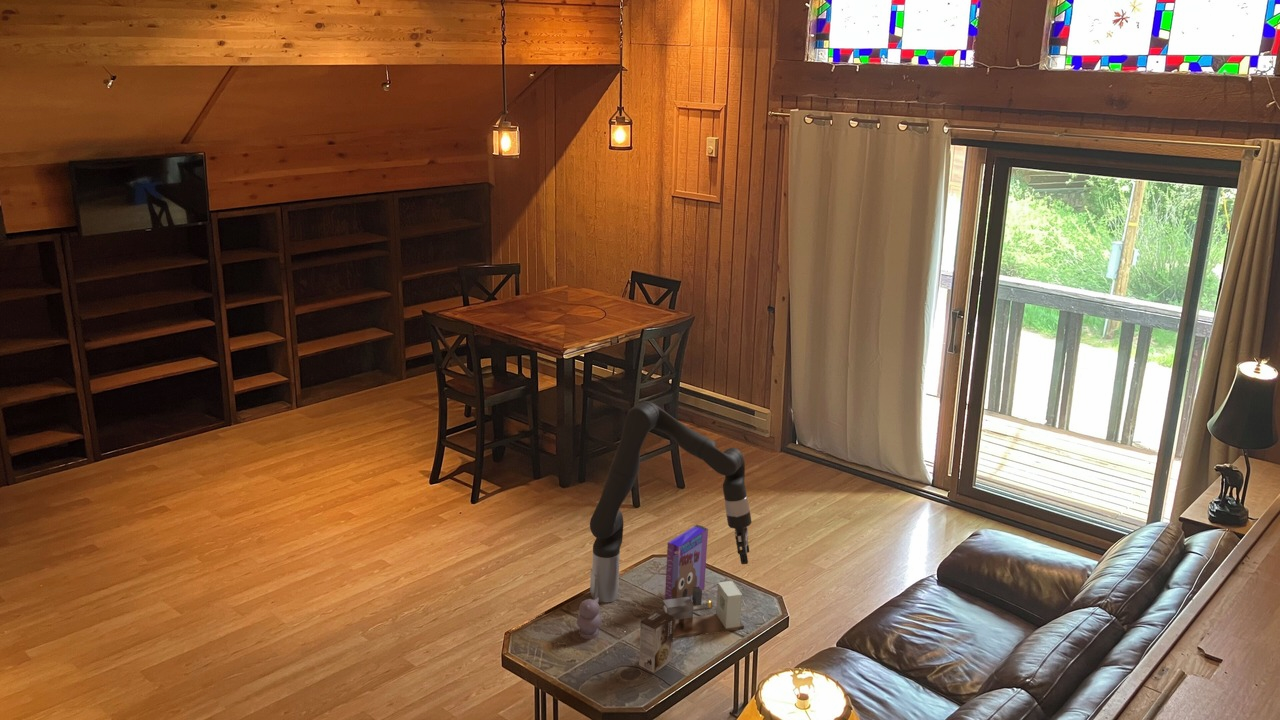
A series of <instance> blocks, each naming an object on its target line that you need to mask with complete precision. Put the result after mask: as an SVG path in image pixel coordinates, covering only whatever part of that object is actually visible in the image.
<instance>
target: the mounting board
mask: <svg viewBox="0 0 1280 720" xmlns="http://www.w3.org/2000/svg"><path fill="white" fill-rule="evenodd" d="M664 606H666V608H667V613H668V614H669V615H672V616H674V621H673V638H674V639H680V637H681V638H687V637H694V635H695V636H701V635H700V634H702V635H706V633H709V634H715V632H716V633H722V632H723V633H724V632H730V631H737V630H743V629H745V625H744V624H743V622H742V621H741V620H740V627H733V628H725V627H724V625H723V624H722V622H721V621H720V619H719V618H718V616H717V615H716V613H715V614H713V613H712V614H706V615H699V616H694V611H693V607H694V604H693V601H692V599H690V598H689V597H683V598H675V599H667V600H665V599H662V608H661V609H662V611H663V607H664ZM686 636H687V637H686ZM678 637H679V638H678Z"/></svg>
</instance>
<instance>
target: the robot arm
mask: <svg viewBox="0 0 1280 720" xmlns="http://www.w3.org/2000/svg"><path fill="white" fill-rule="evenodd" d="M623 424H624V425H623V428H622V429H623V430H622V432H621V437H620V441H619V444H618V446H617V448H616V450H615V454H614V456H613V459H612V461H611V463H610V464H611V465H610V466H609V471H608V472H607V473H608V474H607V477H606V480H605V482H604V486H603V489H602V493H601V496H600V497H599V501H598V504H597V505H596V508H595V509H594V511H593V514H592V515H591V517H590V521H589V530H590V532H591V534H592V535H593V536H594V537H595V538H596V539H595V540H594V541H593V544H592V568H591V569H590V582H589V583H590V586H589V587H590V589H589V591H590V596H591V597H592V598H591V599H593V600H595V599H597V598H599V600H598V603H604V604H605V603H607V604H608V603H611V602H615V601H617V599H618V598H619V591H620V590H619V581H620V555H621V553H620V552H621V551H620V549H621V547H622V543H623V535H624V516H623V513H622V511H621V510H620V508H621V506H622V504H623V502H624V501H625V500H626V498H627V497H628V495H629V493H630V492H631V490H632V488H633V487H634V484H635V482H636V479H637V476H638V473H639V471H640V466H641V465H640V464H641V457H640V454H641V449H642V446H643V444H644V441H645V438H646V437H647V435H648V433H650V432H651V430H652V429H654V430H658V431H661V432H662V433H664V434H666V435H668V436H669V437H670V438H671V439H672V440H673V441H674V442H675V443H676V444H677V445H678V446H679V447H680V448H681V449H683V450H684V451H685V452H687V453H688V454H690V455H692V456H694V457H696V458H698V459H700V460H702V461H703V463H705V464H707V465H708V466H709V468H711V469H712V470H713V471H715V472H716V473H718V474H719V475H721V476H724V480H723V483H722V490H723V498H724V508H725V515H726V520H727V521H726V522H727V525H728V527H729V528H731V529H734V537H735V538H734V539H735V544H736V548H737V554H738V555H739V559H740V563H741V565H748V563H749V559H748V558H749V557H748V553H750V546H749V530H748V529H749V528H748V527H749V526H750V525H751V524H752V516H751V511H750V504H749V503H750V502H749V499H748V496H747V491H746V489H747V488H746V485H745V476H746V475H745V472H746V468H745V467H746V466H745V465H746V464H745V458H744V455H743V453H742V452H741V450H739V448H735V447H729V448H727V449H726V450H724V451H723V452H722V451H721V450H719V448H717V443H716V442H715V441H714V440H712V439H710V438H709V437H706V436H705V435H704V434H703V435H702V434H701V433H699V432H697V431H695V430H694V429H691V428H690V427H688V426H687V425H685V424H683V423H682V422H681V421H679V420H677V419H676V418H674V417H673V416H672V415H670V414H669V413H668V412H666V411H665V410H664V409H662V408H661V407H659V406H658V405H657V404H655V403H654V402H651V401H649V400H644V401H641V402H638V403H637V404H636V405H634V406H633V407H631V408H630V409H629V411H628V412H627V413H626V416H625V419H624V423H623Z"/></svg>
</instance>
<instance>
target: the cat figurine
mask: <svg viewBox="0 0 1280 720" xmlns="http://www.w3.org/2000/svg"><path fill="white" fill-rule="evenodd" d="M598 600H599V598H597V599H595V600H593V598H588V599H584V600H583V601H581V603H580V604H579V608H578V612H579V615H578V616H577V618H576V625H577V627H578V628H579V631H578V632H579V633H578V634H579V636H580V637H581V638H583V639H585V640H593V639H596V638H597V637H599V634H600V629H599V627H600V626H601V625H602V621H603V619H602V616H601V614H600V607H601V606H600V604H599V602H598Z"/></svg>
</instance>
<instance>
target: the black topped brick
mask: <svg viewBox="0 0 1280 720" xmlns="http://www.w3.org/2000/svg"><path fill="white" fill-rule="evenodd" d="M702 599H703V591H702V590H701V589H700V587H699V586H698V587H693V596H692V599H691V601H692V602H693V604H694V607H693V612H696V611H697V612H700V611H705V610H712V609H713V602H712V599H704V600H702ZM662 607H663V606H662ZM663 611H664V612H666V613H667V608H666V606H664V607H663Z"/></svg>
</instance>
